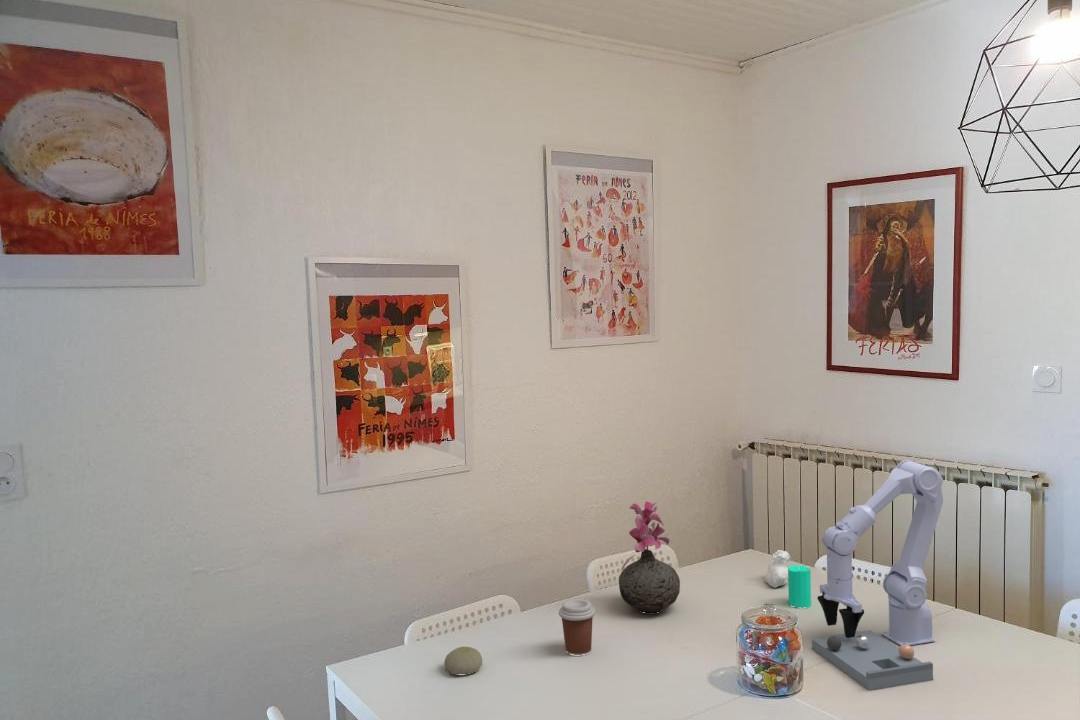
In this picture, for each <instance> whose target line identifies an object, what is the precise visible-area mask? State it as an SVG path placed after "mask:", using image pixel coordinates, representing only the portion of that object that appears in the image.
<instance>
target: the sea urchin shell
mask: <svg viewBox="0 0 1080 720" xmlns="http://www.w3.org/2000/svg"><path fill="white" fill-rule="evenodd" d="M482 664H483V657H482V654H481V653H480V651H479V650H477V648H474V647H471V646H460V647H457V648H455V649H453V650H451V651H450V652H448V654H446V655H445V659H444V667H445V669H446V671H447V672H448V673H450V674H451V673H453V674H457V675H458V674H469V673H472V672H476V671H477V672H479V670H480V669H481V668H482V666H483V665H482ZM477 672H476V673H477ZM453 674H452V675H453Z"/></svg>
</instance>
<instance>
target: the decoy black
mask: <svg viewBox="0 0 1080 720" xmlns="http://www.w3.org/2000/svg"><path fill="white" fill-rule="evenodd" d="M830 636H831V637H829V638H828V640H827V645H828V647H829V648H830V649H831V650H839V649H840V648H841V645H842V644H841V640H840V639H839V638H838V637H836V636H835V635H830Z"/></svg>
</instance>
